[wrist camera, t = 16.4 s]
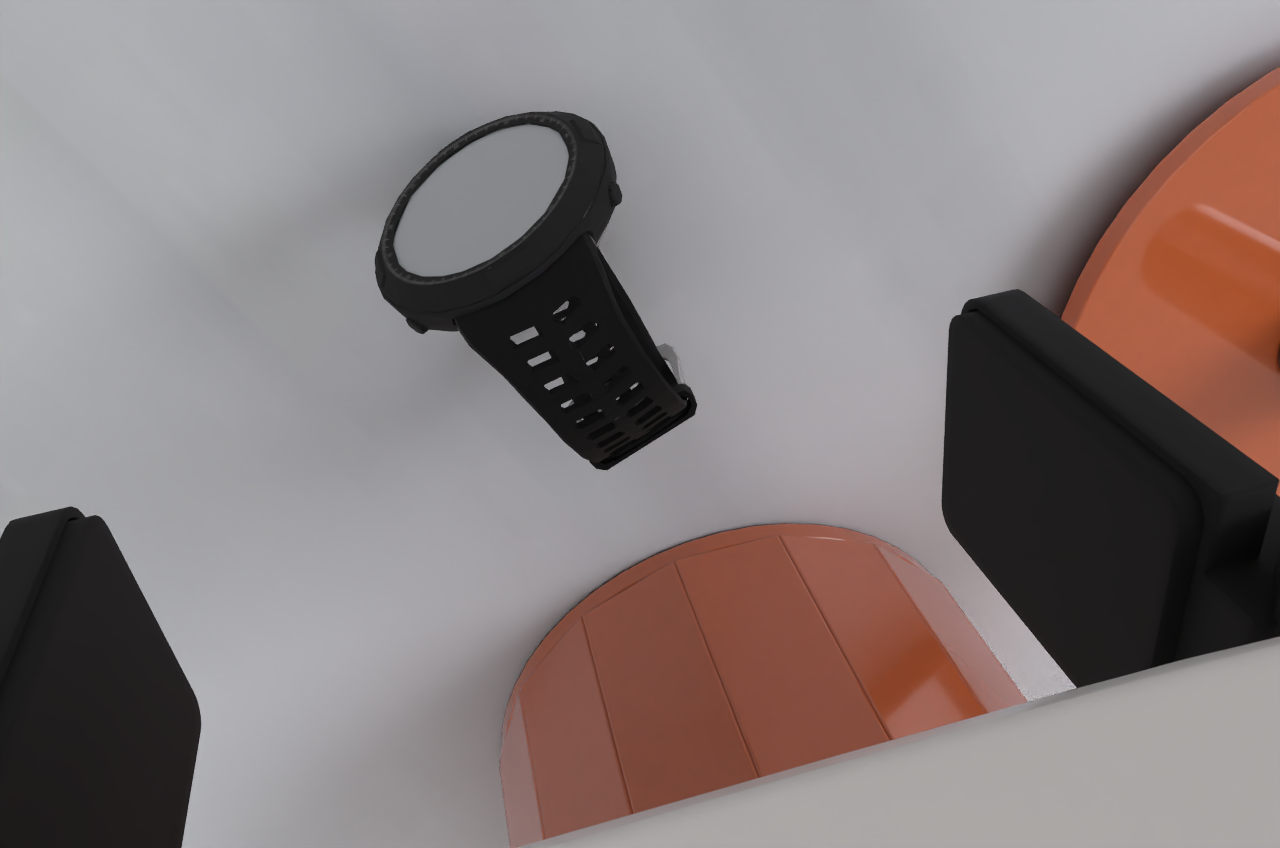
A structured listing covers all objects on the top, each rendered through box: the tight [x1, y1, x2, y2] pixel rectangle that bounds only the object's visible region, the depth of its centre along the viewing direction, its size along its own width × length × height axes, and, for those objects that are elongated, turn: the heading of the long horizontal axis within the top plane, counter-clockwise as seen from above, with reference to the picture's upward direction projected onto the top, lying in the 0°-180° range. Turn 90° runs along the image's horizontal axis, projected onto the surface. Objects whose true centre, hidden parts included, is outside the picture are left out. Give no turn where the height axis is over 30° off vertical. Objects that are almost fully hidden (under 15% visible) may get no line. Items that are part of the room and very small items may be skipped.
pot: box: [499, 523, 1027, 848], centre depth 22 cm, size 11×11×8 cm
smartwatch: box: [375, 111, 697, 470], centre depth 15 cm, size 4×5×5 cm
